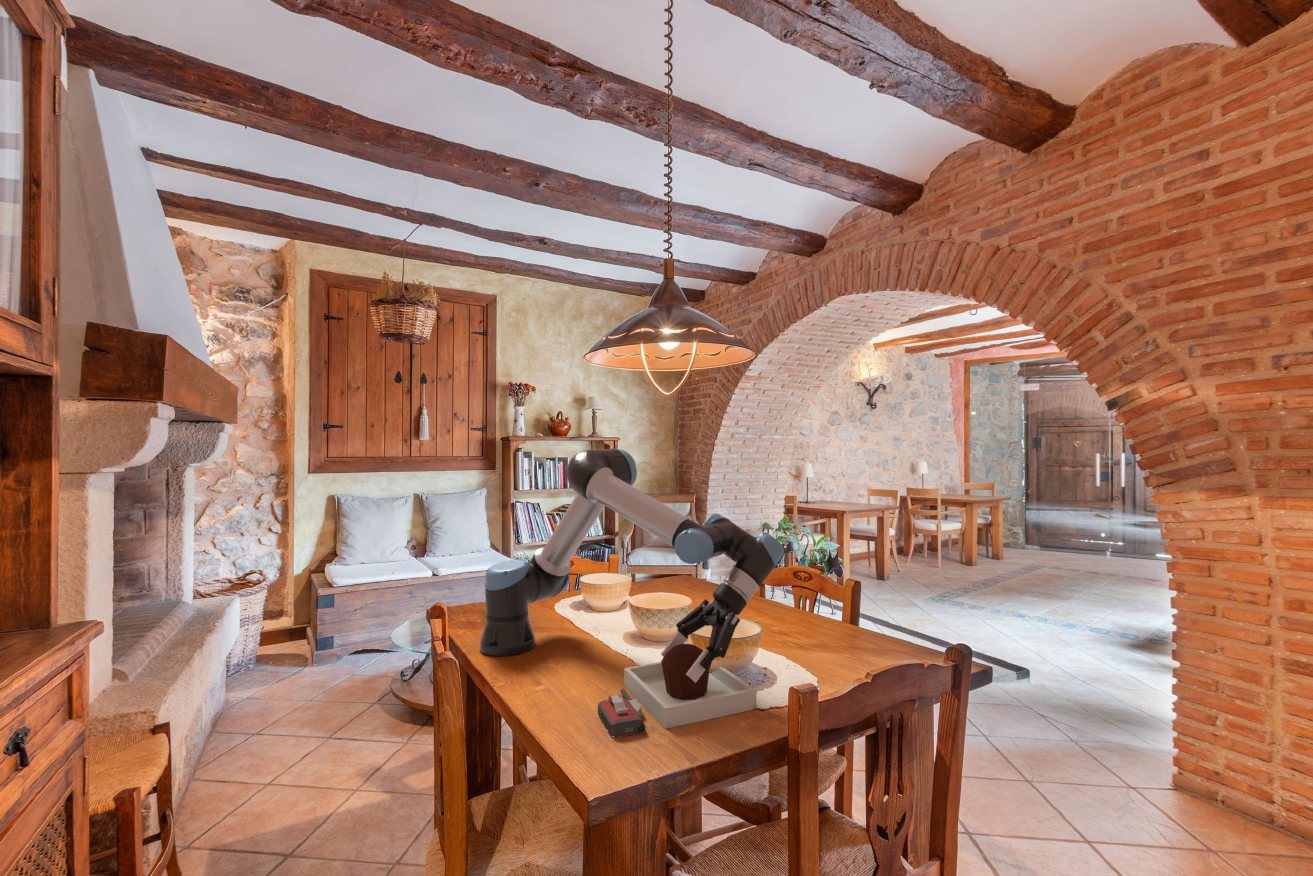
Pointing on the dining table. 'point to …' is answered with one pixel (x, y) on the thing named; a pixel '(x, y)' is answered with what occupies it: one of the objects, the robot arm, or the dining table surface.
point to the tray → (718, 701)
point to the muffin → (683, 673)
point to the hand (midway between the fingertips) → (677, 668)
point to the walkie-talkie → (621, 715)
